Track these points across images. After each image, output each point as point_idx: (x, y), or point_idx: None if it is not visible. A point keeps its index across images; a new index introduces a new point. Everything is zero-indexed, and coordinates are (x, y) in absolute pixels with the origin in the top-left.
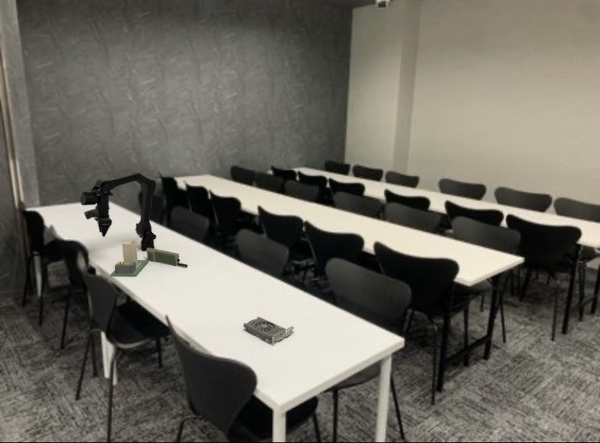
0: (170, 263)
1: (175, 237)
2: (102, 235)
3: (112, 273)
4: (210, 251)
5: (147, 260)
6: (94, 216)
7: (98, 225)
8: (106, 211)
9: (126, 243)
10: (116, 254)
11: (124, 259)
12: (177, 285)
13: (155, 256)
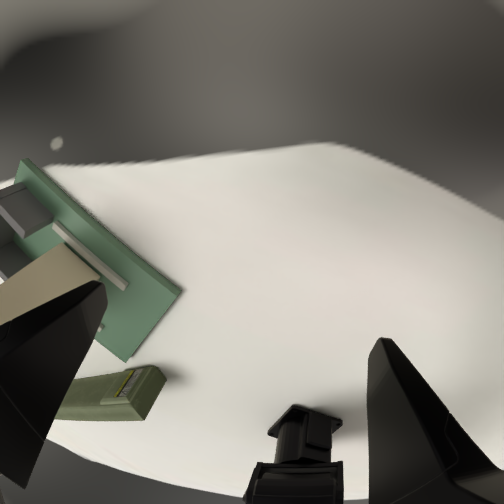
0: (74, 383)
1: (356, 492)
2: (79, 287)
3: (24, 170)
4: (161, 478)
5: (121, 358)
6: None
7: (422, 427)
8: None
9: None
10: (341, 303)
11: (32, 265)
12: None
13: (108, 389)
